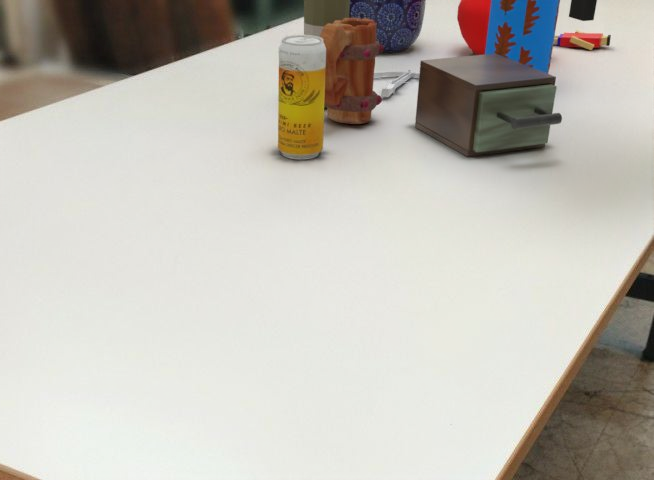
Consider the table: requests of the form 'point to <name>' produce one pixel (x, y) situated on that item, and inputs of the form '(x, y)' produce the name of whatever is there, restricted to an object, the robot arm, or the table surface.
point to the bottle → (323, 14)
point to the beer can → (301, 96)
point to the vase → (474, 23)
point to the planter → (392, 20)
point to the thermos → (523, 31)
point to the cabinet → (466, 95)
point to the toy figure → (582, 40)
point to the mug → (350, 69)
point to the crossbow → (397, 82)
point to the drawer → (514, 117)
